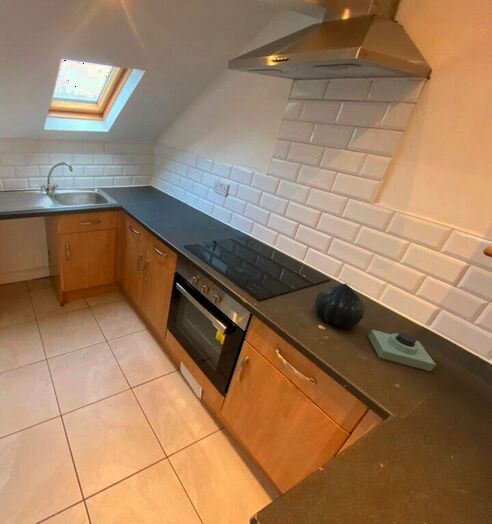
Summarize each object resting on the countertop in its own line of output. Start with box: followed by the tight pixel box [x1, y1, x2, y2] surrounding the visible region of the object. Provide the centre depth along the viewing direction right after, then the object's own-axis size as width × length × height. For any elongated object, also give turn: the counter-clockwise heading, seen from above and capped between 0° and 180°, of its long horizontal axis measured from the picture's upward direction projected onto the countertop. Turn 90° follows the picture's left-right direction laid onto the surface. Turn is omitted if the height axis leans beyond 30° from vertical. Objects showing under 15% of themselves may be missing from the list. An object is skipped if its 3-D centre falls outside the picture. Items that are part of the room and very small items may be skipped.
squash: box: [314, 283, 366, 330], centre depth 108 cm, size 14×15×15 cm
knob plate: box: [367, 329, 437, 372], centre depth 97 cm, size 14×11×5 cm
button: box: [396, 332, 417, 347], centre depth 95 cm, size 4×4×2 cm
